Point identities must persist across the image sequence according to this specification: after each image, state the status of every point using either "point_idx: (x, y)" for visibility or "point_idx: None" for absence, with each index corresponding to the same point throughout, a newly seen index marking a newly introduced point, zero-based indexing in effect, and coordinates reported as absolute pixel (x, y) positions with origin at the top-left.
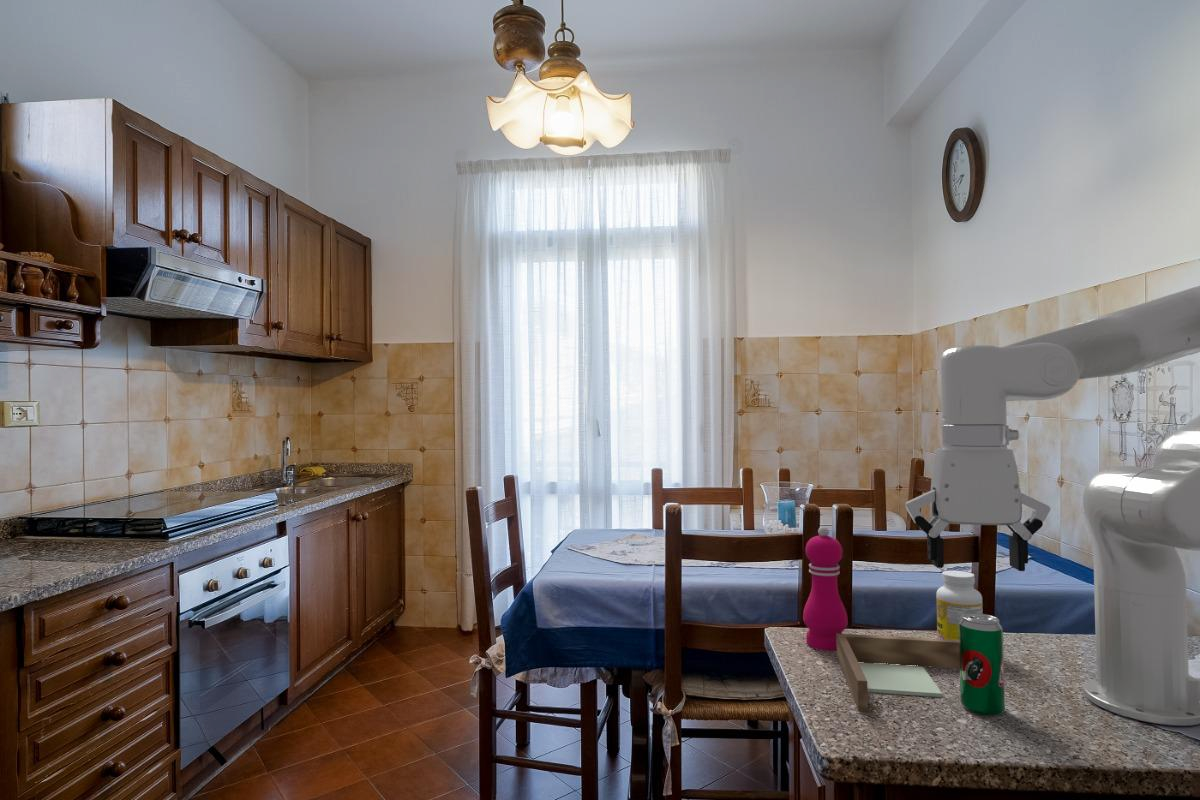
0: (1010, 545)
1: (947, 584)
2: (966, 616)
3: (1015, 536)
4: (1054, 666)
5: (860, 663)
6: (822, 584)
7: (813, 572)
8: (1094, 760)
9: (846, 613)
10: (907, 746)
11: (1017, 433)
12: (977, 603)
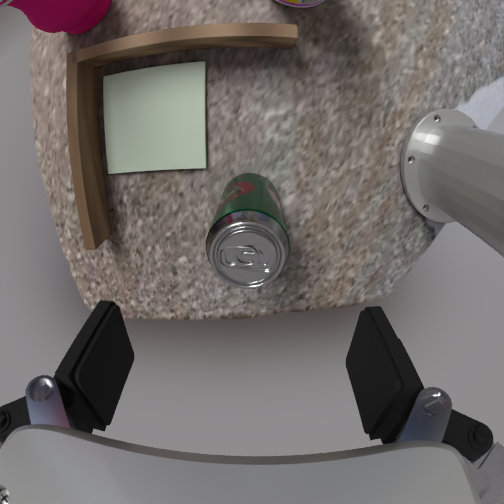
0: (380, 373)
1: None
2: (219, 252)
3: (387, 426)
4: (414, 38)
5: (111, 78)
6: (15, 5)
7: None
8: (315, 299)
9: None
10: (147, 299)
11: None
12: None
